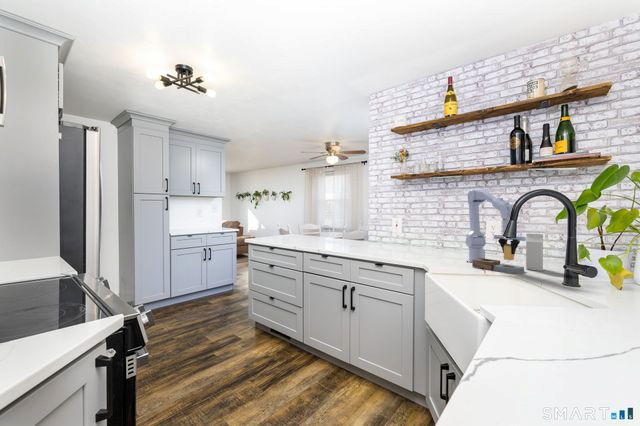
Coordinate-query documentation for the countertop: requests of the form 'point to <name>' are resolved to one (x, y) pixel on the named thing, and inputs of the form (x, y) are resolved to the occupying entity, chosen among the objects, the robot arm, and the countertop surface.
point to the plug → (508, 252)
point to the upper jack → (485, 263)
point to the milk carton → (534, 252)
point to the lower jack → (509, 268)
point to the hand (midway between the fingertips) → (508, 253)
